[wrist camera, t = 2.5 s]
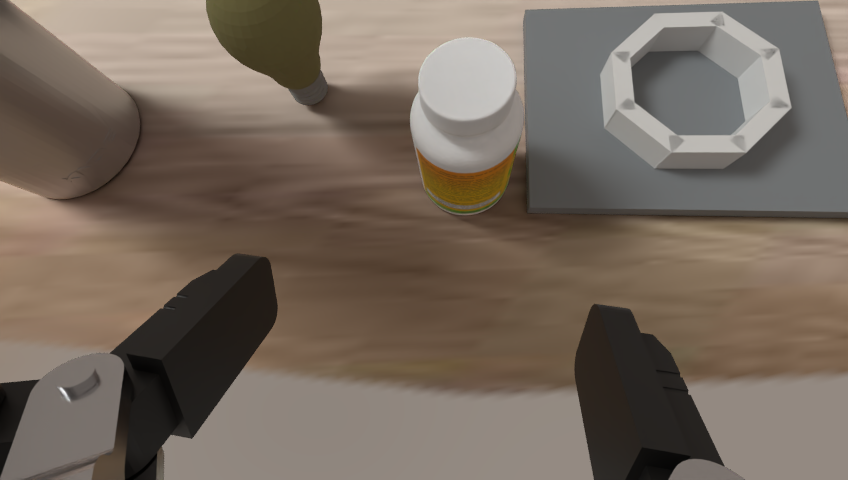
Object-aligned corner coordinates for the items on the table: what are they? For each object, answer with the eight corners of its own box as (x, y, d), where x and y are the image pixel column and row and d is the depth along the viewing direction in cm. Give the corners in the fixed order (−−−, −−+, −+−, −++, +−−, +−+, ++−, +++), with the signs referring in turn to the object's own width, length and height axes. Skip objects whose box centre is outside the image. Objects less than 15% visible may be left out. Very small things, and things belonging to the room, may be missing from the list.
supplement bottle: (519, 204, 25) (555, 116, 16) (434, 227, 25) (418, 153, 16) (493, 128, 26) (511, 6, 17) (413, 150, 27) (387, 41, 17)
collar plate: (527, 213, 25) (535, 194, 22) (523, 21, 28) (530, -16, 25) (853, 218, 23) (910, 198, 20) (805, 13, 27) (846, -28, 24)
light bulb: (289, 145, 27) (196, 34, 18) (264, 81, 29) (166, -53, 19) (365, 112, 28) (314, -16, 18) (336, 50, 29) (275, -99, 19)
